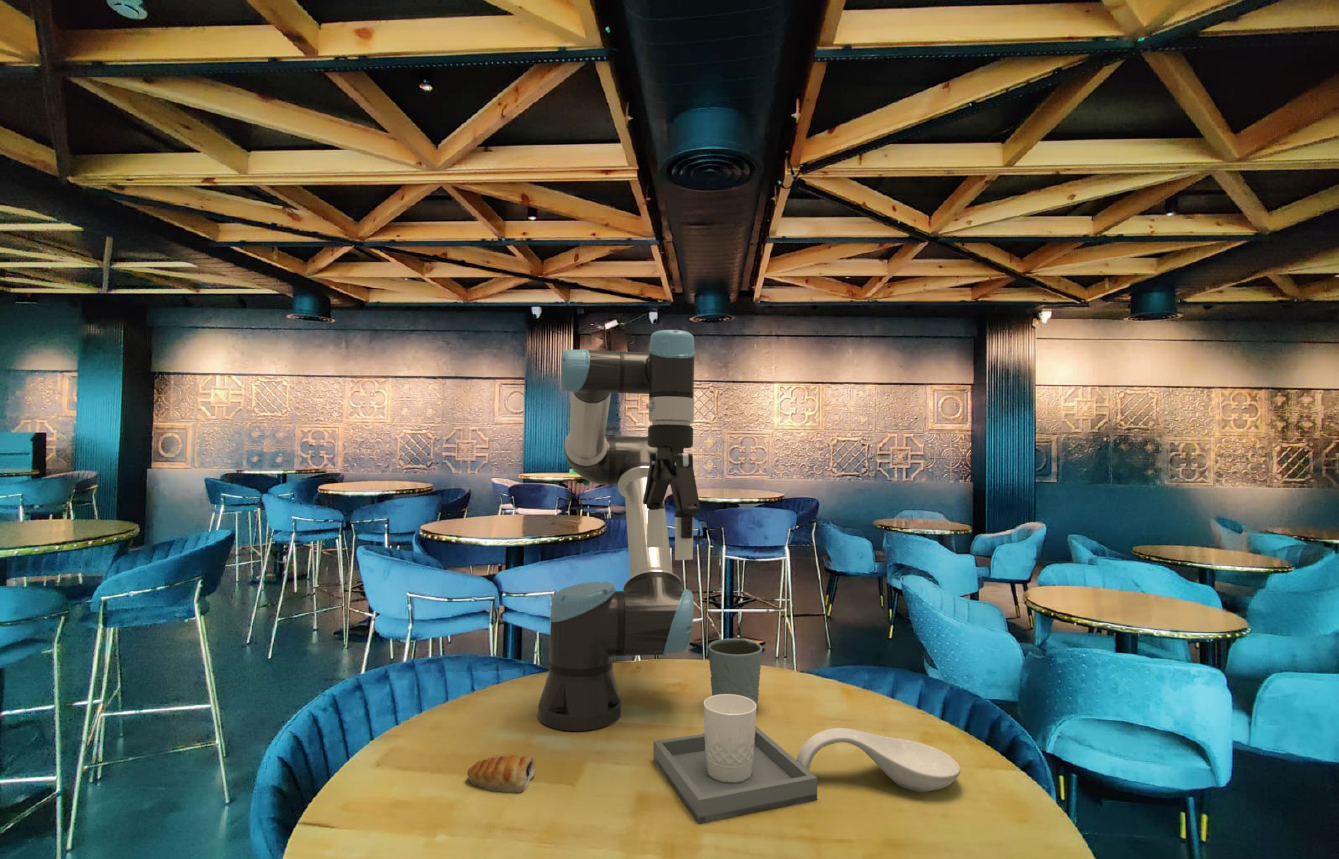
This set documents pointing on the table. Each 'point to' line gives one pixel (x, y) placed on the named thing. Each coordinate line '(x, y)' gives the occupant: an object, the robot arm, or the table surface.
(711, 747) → the white cup
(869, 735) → the spoon rest
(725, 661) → the grey-green cup
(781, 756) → the tray
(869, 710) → the table surface
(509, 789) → the pastry
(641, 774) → the table surface
